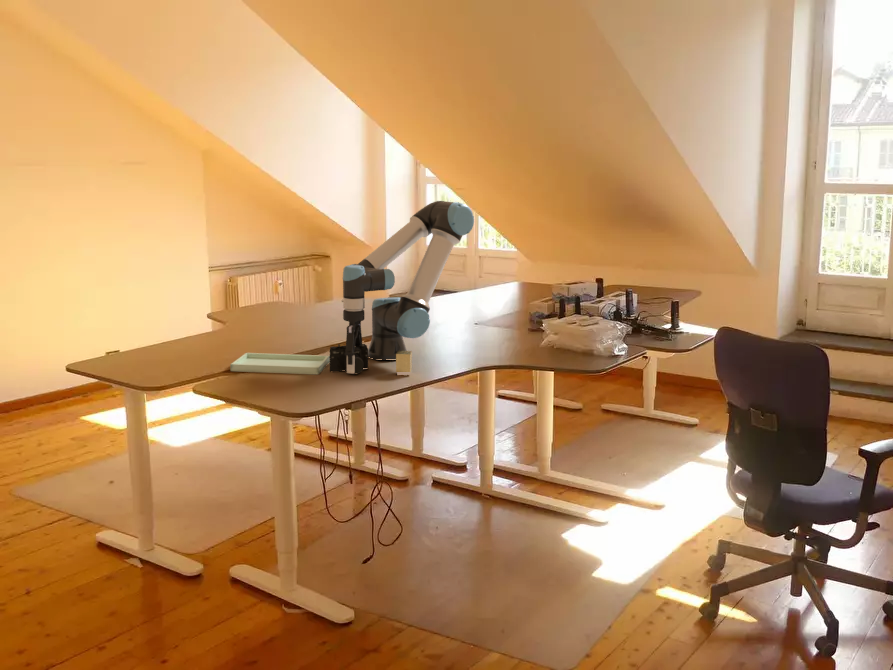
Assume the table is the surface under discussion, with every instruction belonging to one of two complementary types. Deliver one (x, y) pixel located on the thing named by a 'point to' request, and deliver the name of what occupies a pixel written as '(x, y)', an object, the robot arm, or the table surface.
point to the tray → (280, 363)
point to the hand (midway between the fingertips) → (354, 368)
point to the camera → (340, 360)
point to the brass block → (404, 361)
